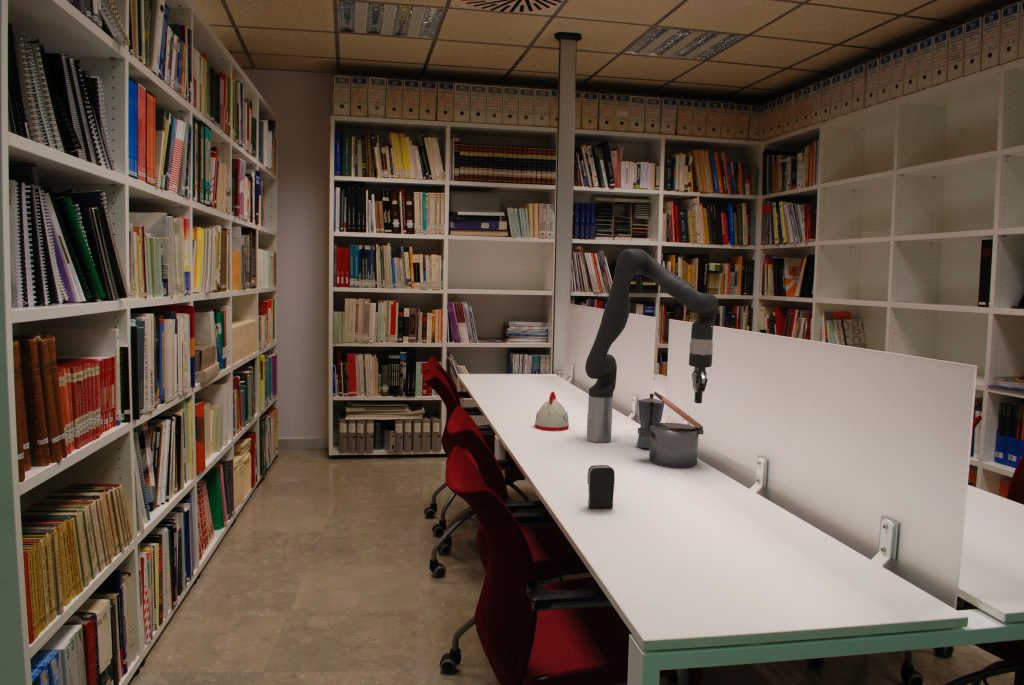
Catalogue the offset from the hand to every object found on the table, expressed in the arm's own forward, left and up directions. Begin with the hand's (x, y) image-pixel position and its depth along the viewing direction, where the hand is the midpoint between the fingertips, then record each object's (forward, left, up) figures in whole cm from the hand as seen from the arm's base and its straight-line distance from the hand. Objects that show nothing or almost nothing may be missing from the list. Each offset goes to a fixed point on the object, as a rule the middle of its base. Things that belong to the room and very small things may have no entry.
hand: (698, 402), depth 237 cm
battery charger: (-37, -51, -21) cm, 66 cm away
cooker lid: (-7, 0, -3) cm, 8 cm away
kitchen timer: (-48, +49, -21) cm, 72 cm away
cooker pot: (-9, 0, -21) cm, 23 cm away
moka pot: (-12, +20, -21) cm, 31 cm away
